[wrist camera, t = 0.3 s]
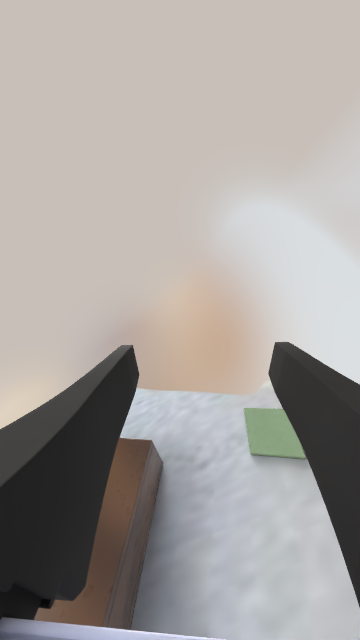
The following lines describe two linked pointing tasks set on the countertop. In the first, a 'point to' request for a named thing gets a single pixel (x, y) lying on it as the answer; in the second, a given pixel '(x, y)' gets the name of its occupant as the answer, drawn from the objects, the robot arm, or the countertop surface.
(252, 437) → the pad
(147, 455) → the cabinet
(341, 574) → the countertop surface
